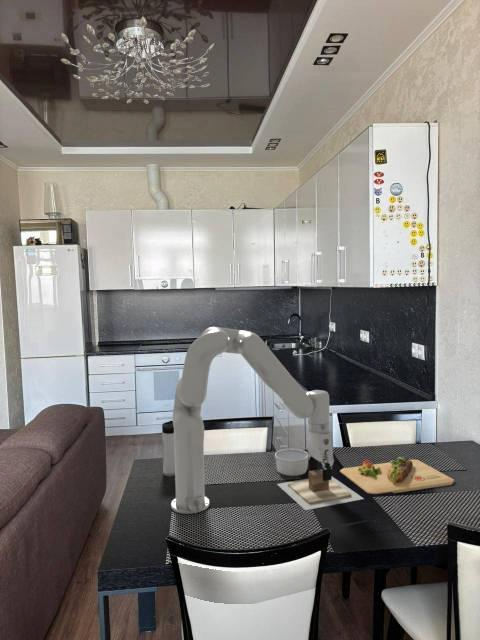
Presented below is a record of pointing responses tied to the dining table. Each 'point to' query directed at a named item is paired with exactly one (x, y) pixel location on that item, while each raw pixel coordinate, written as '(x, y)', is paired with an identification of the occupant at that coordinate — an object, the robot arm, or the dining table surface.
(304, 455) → the ramekin
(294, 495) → the rubber mat
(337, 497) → the oak lid
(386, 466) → the cutting board
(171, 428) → the travel mug
